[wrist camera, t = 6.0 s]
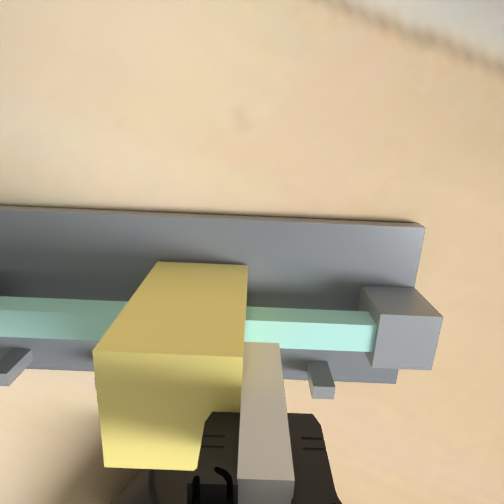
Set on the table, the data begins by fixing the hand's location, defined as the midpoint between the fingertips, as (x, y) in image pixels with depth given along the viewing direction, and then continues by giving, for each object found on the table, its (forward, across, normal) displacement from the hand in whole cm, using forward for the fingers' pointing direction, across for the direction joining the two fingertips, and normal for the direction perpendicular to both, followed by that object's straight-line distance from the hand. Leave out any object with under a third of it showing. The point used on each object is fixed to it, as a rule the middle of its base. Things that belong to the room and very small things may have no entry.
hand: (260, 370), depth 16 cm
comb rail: (+7, -5, 0) cm, 9 cm away
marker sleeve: (+6, -3, 0) cm, 7 cm away
